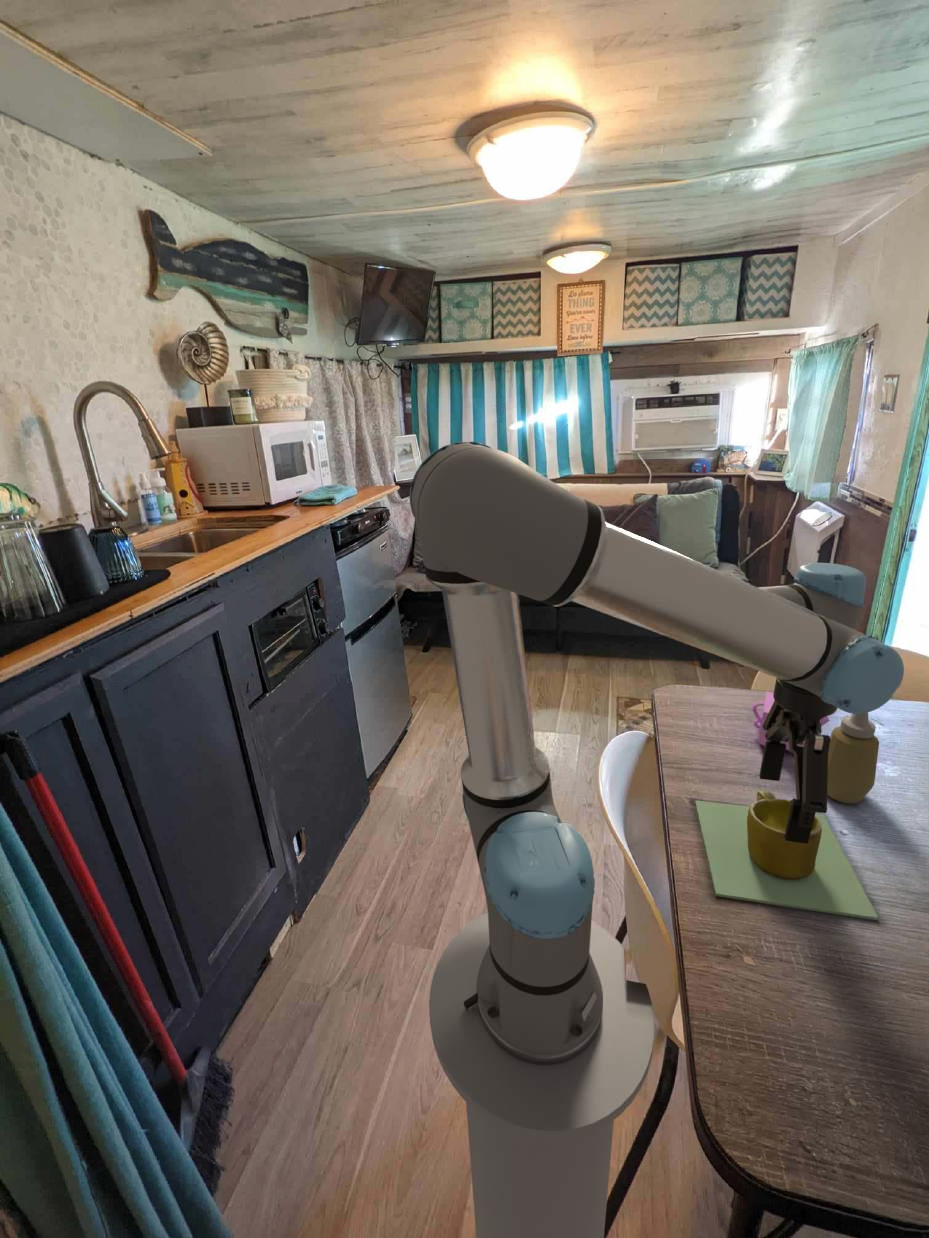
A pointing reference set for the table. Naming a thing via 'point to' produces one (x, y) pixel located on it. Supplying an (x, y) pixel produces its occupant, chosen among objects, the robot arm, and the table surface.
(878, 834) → the table surface
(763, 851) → the mug
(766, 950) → the table surface
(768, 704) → the teapot
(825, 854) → the mat
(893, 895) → the table surface
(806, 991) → the table surface
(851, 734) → the squeeze bottle
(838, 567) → the robot arm
